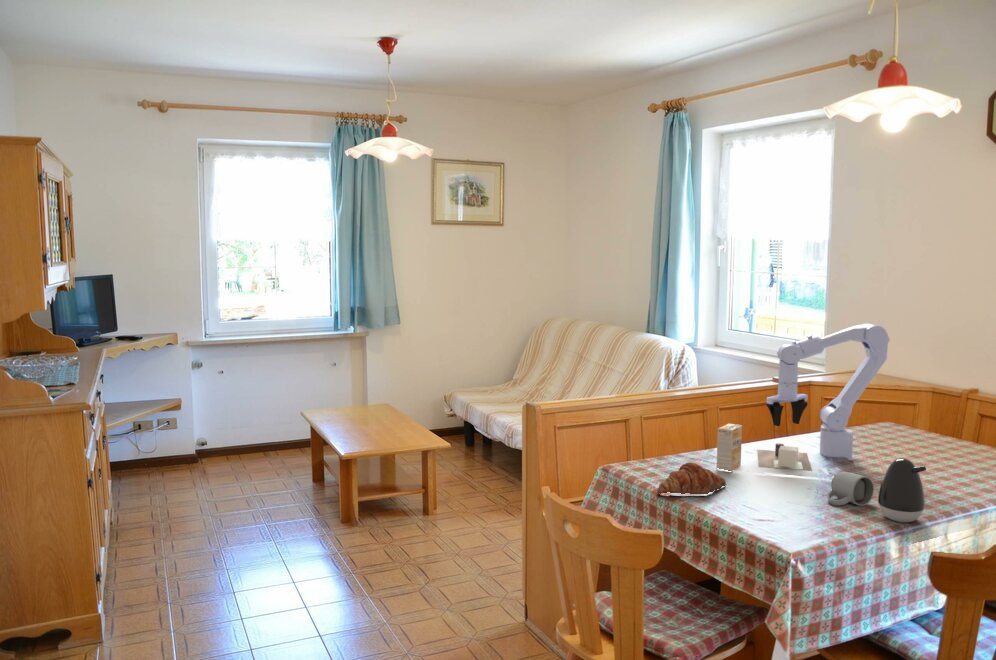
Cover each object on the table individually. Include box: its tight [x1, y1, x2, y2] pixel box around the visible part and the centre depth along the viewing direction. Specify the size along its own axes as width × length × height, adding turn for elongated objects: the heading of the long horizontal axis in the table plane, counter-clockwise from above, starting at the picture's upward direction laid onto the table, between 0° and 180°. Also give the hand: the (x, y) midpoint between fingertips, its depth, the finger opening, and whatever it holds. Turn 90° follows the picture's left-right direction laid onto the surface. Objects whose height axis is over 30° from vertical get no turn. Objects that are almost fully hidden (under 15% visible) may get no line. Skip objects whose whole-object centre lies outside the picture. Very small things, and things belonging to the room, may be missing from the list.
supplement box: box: [716, 423, 743, 471], centre depth 233 cm, size 8×5×13 cm, turn 143°
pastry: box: [657, 461, 727, 495], centre depth 213 cm, size 17×15×8 cm
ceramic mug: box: [827, 471, 875, 507], centre depth 203 cm, size 11×8×8 cm
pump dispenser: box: [877, 457, 927, 523], centre depth 190 cm, size 10×10×15 cm
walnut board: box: [756, 442, 813, 472], centre depth 240 cm, size 15×20×4 cm
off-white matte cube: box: [778, 445, 799, 468], centre depth 234 cm, size 5×5×5 cm
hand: (786, 424), depth 247 cm, fingers open, 7 cm apart
